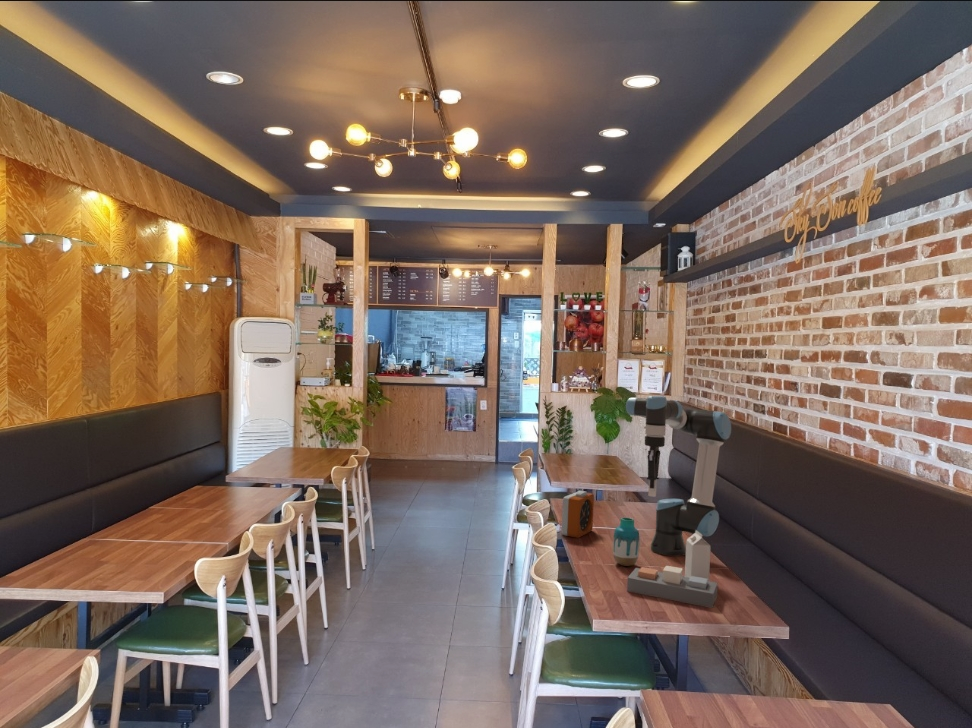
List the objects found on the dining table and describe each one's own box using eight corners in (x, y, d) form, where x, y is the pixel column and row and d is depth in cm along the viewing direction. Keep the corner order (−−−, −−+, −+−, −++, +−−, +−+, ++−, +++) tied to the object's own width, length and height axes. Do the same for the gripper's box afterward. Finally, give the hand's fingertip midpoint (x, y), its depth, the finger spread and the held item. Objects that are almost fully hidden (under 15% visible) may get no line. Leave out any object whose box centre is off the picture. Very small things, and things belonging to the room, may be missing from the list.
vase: (610, 566, 269) (612, 520, 268) (614, 559, 279) (616, 514, 278) (636, 570, 265) (638, 523, 265) (639, 562, 275) (641, 517, 275)
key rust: (641, 582, 249) (641, 566, 249) (657, 585, 246) (657, 569, 246) (637, 586, 243) (638, 571, 243) (653, 590, 241) (654, 574, 241)
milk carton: (702, 578, 259) (704, 530, 259) (708, 584, 252) (711, 535, 252) (684, 577, 259) (686, 529, 259) (690, 583, 252) (693, 534, 252)
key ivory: (665, 581, 245) (666, 565, 245) (682, 584, 242) (682, 568, 242) (662, 585, 239) (663, 570, 239) (679, 589, 237) (680, 573, 237)
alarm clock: (577, 539, 307) (579, 495, 307) (560, 535, 312) (562, 492, 311) (593, 530, 323) (594, 489, 322) (576, 527, 328) (578, 486, 327)
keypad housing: (635, 580, 253) (635, 567, 253) (716, 596, 240) (717, 582, 240) (627, 591, 241) (627, 577, 241) (712, 608, 228) (713, 593, 228)
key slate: (690, 591, 241) (690, 575, 241) (707, 594, 238) (708, 578, 238) (687, 596, 235) (688, 580, 235) (705, 600, 233) (705, 583, 233)
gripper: (648, 433, 262) (646, 492, 263) (641, 436, 251) (638, 498, 251) (667, 435, 259) (665, 494, 260) (661, 438, 247) (658, 500, 248)
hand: (652, 496), depth 255 cm, fingers closed
